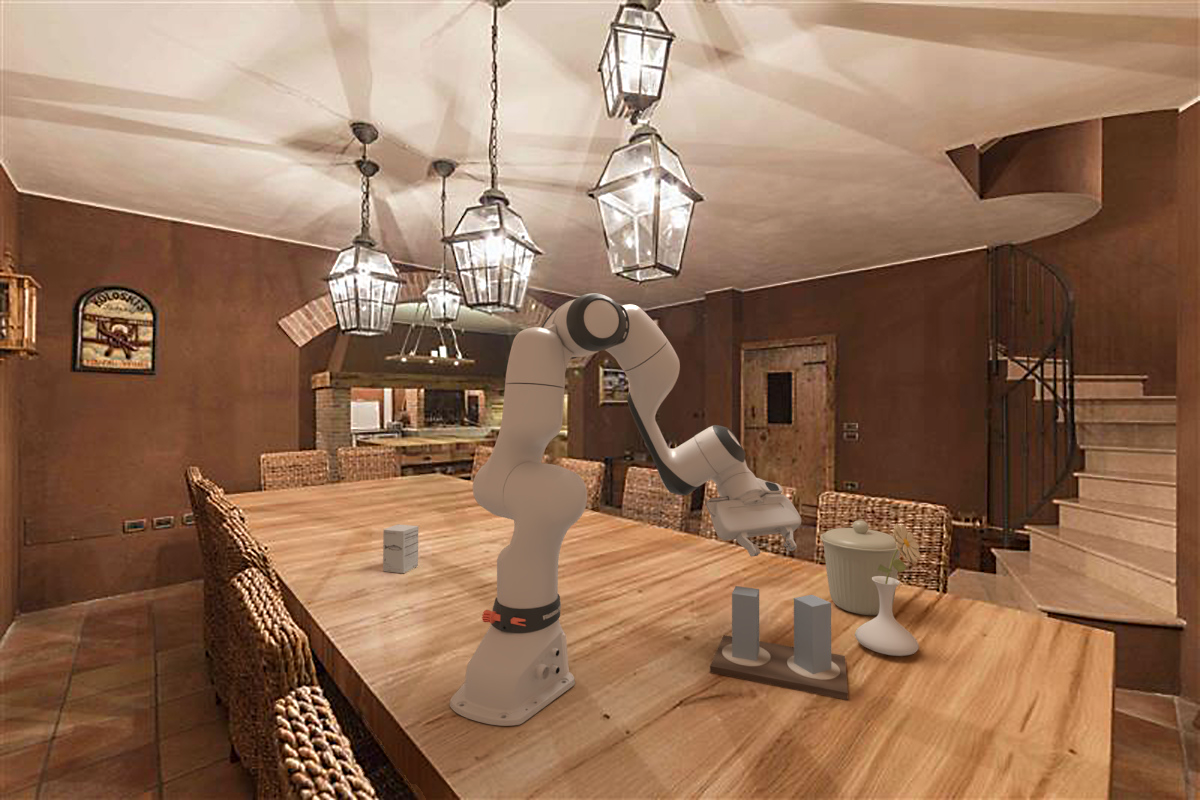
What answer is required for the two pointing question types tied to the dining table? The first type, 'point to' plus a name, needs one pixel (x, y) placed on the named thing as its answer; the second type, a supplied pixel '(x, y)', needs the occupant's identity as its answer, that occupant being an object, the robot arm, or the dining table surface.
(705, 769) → the dining table surface
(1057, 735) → the dining table surface
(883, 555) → the canister
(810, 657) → the gray rectangular block
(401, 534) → the supplement box
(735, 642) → the pin
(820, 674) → the board
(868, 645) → the flower in vase
